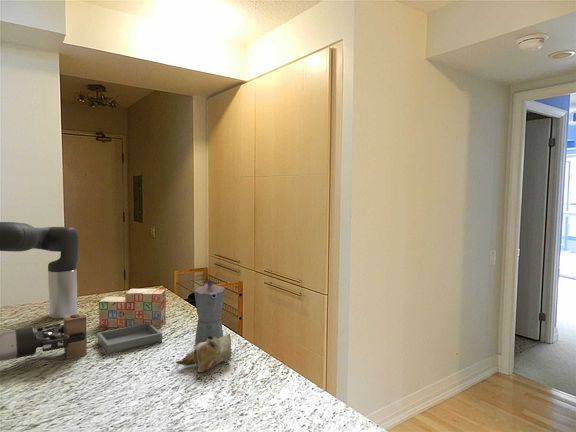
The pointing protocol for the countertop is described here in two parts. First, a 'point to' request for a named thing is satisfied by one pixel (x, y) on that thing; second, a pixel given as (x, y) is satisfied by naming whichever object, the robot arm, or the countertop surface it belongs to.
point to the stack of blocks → (134, 309)
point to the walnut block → (72, 326)
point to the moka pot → (209, 311)
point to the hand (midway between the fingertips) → (81, 331)
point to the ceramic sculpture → (209, 353)
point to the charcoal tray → (128, 338)
